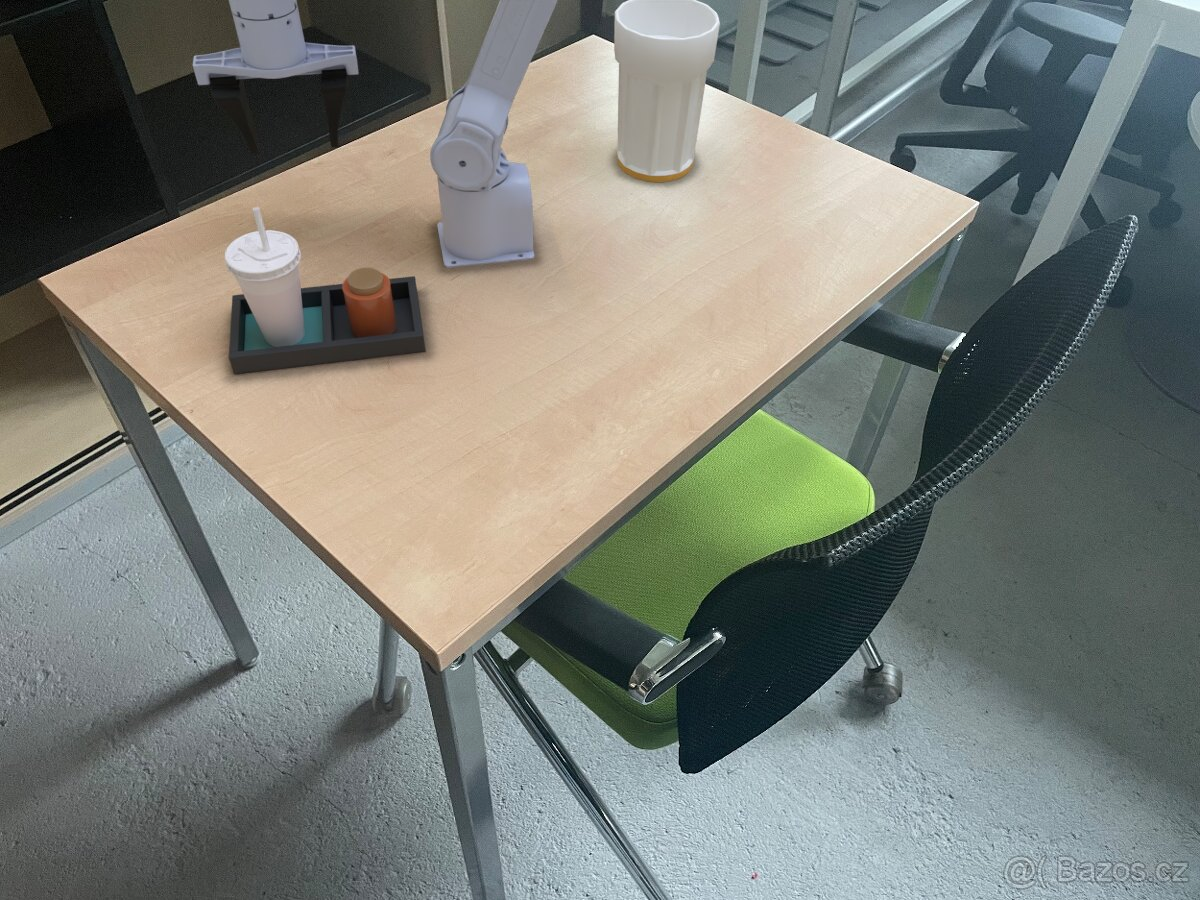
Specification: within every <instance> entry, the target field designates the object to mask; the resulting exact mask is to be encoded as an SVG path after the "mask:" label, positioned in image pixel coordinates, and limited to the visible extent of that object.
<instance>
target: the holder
mask: <svg viewBox="0 0 1200 900" xmlns="http://www.w3.org/2000/svg"><path fill="white" fill-rule="evenodd" d="M389 280H390V283H391V290H392V296H393V302H394V308H395V315H396V321H397V327H396V330H395V331H394V332H393V333H392V334H386V335H377V336H369V337H360V338H357V337H356V336H354V335H353V333H352V332H351V328H350V323H349V318H348V313H347V309H346V304H345V299H344V294H343V289H342V285H343V283H335V284H328V285H319V286H318V285H317V286H309V287H301V297H302V308H303V318H304V329H305V335H304V337H303V338H302V340H301V341H299V342H298V343H296V344H295V345H290V346H282V347H274V346H272V345H270V344H268V343H267V342H266V340H265V338H264V336H263V334H262V332H261V330H260V328H259V325H258V323H257V321H256V319H255V317H254V315H253V313H252V311H251V309H250V307H249V305H248V303H247V300H246V298H245V296H244V294H243V293H242V294H241V293H240V294H232V297H231V316H230V330H229V348H228V349H229V350H228V360H229V363H230V367H231V369H232V373H233V375H244V374H251V373H252V374H253V373H261V372H269V371H277V370H286V369H287V370H288V369H294V368H295V369H296V368H302V367H311V366H319V365H320V366H321V365H328V364H336V363H338V364H339V363H345V362H355V361H362V360H370V359H378V358H388V357H396V356H404V355H411V354H420V353H426V352H427V350H426V343H425V336H424V329H423V323H422V322H423V321H422V315H421V309H420V308H421V307H420V301H419V295H418V288H417V281H416V276H414V275H413V276H403V277H394V278H389Z"/></svg>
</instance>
